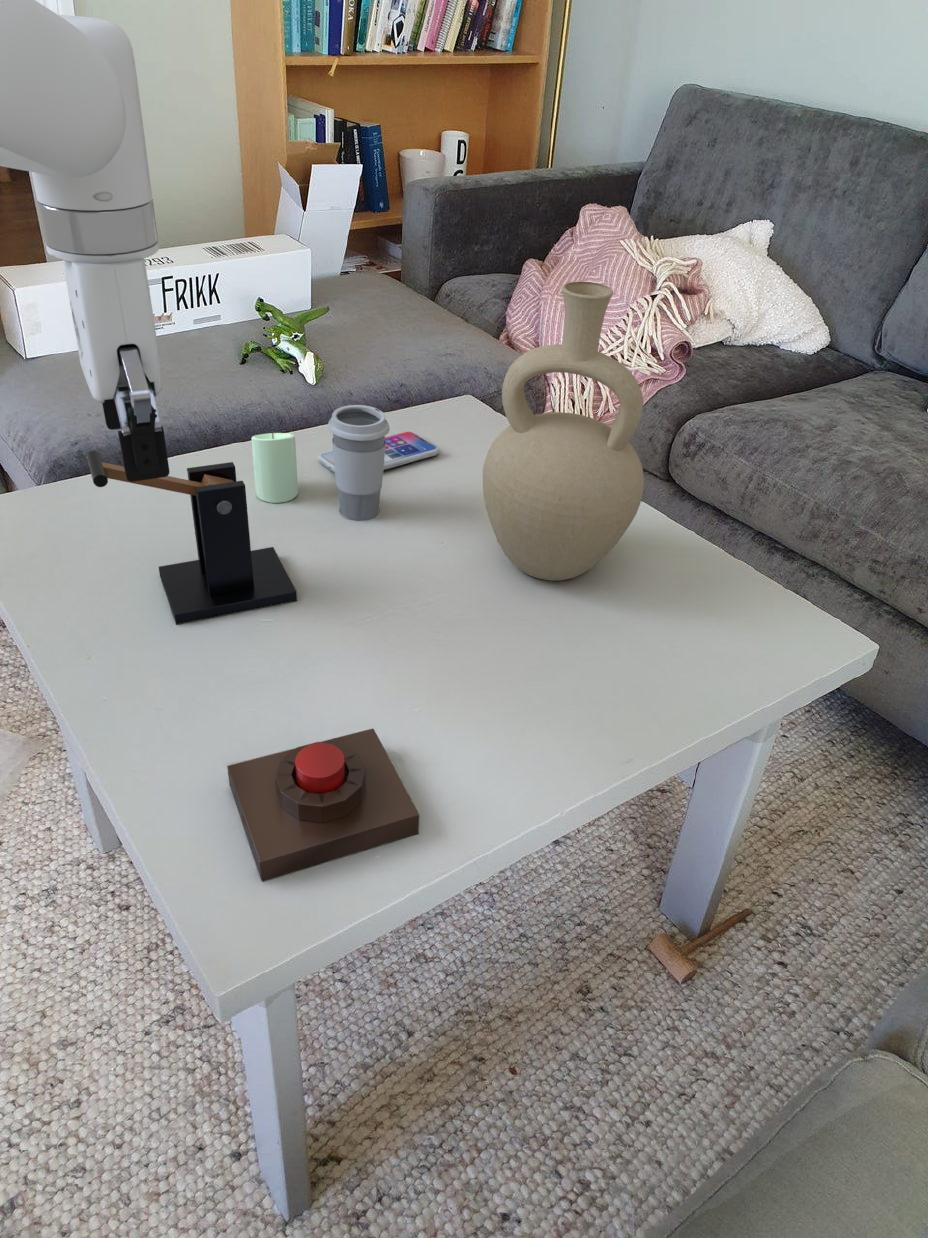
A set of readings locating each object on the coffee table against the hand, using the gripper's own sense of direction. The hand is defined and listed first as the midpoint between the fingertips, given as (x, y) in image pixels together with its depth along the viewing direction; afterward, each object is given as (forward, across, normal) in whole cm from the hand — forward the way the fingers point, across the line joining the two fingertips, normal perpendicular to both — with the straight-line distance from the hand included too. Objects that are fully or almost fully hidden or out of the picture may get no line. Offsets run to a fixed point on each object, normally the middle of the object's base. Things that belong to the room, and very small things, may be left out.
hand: (137, 450), depth 74 cm
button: (+16, +25, +7) cm, 30 cm away
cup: (+20, -18, +26) cm, 37 cm away
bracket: (+20, -7, +7) cm, 22 cm away
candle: (+20, -25, +18) cm, 37 cm away
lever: (+8, -7, +2) cm, 11 cm away
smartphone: (+20, -30, +33) cm, 48 cm away
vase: (+20, 0, +41) cm, 46 cm away
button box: (+20, +25, +7) cm, 33 cm away
